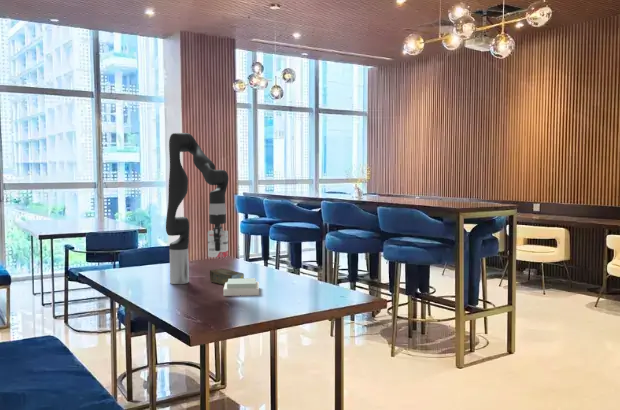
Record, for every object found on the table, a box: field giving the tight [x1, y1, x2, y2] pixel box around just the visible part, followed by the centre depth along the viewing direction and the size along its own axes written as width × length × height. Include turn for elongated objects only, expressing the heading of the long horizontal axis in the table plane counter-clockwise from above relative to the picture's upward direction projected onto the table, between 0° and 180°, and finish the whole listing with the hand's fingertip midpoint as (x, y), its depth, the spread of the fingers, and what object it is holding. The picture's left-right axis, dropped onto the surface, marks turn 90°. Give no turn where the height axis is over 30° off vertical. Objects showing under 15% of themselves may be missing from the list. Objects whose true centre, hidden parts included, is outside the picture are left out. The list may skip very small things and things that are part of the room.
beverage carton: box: [209, 268, 245, 286], centre depth 281 cm, size 8×19×7 cm, turn 44°
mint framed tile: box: [222, 277, 260, 297], centre depth 260 cm, size 16×16×5 cm
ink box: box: [207, 230, 229, 258], centre depth 257 cm, size 9×5×12 cm, turn 83°
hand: (218, 249), depth 257 cm, fingers closed on ink box, 5 cm apart
